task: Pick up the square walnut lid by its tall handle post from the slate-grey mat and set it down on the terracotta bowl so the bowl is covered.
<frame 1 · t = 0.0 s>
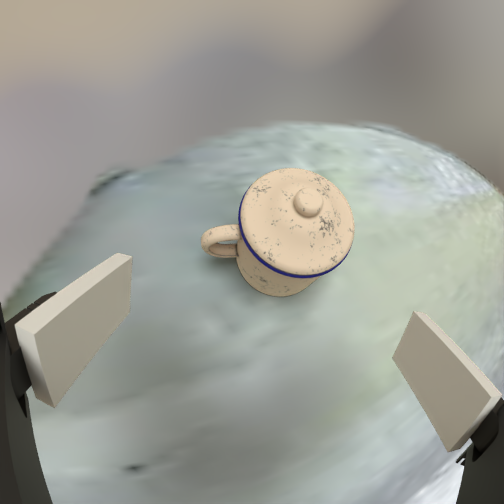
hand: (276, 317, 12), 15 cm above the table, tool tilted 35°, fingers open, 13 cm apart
teacup with lid: (263, 257, 29), on the table
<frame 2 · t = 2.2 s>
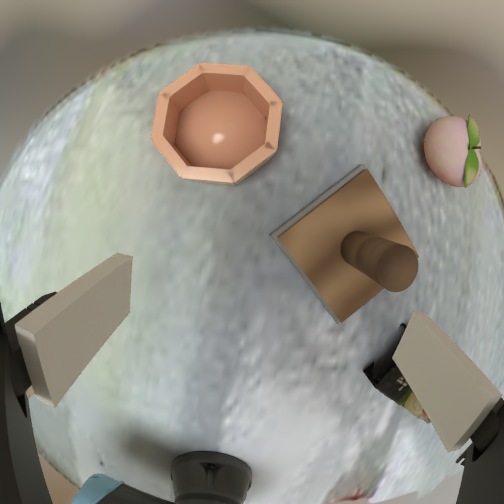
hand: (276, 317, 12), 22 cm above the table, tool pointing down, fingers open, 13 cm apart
decorative fruit: (430, 154, 32), on the table
lid: (352, 246, 32), point 1 cm above the table, touching mat
bowl: (220, 131, 31), on the table
mat: (348, 244, 34), on the table
juice carton: (411, 370, 39), on the table
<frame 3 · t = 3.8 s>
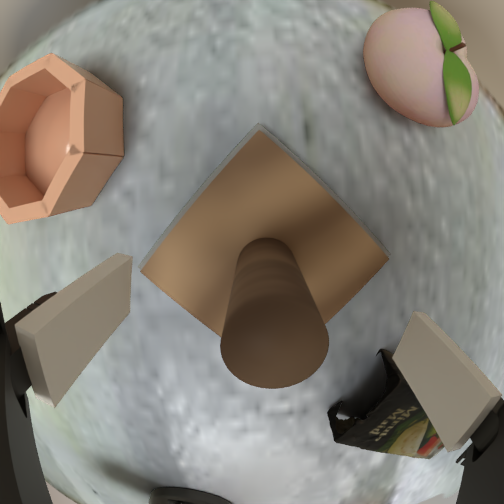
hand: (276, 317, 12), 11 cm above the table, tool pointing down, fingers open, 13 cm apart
decorative fruit: (390, 83, 19), on the table
lid: (265, 261, 21), point 1 cm above the table, touching mat
bowl: (65, 141, 20), on the table
mat: (265, 255, 22), on the table
juice carton: (403, 400, 27), on the table
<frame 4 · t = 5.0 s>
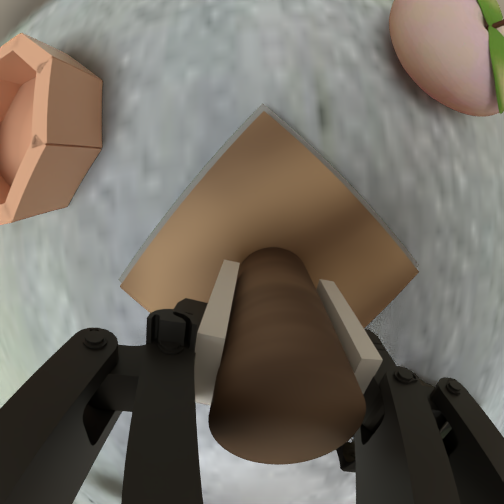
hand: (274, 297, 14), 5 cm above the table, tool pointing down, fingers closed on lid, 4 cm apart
decorative fruit: (415, 65, 14), on the table
lid: (271, 274, 17), point 1 cm above the table, touching gripper, mat
bowl: (39, 134, 16), on the table
mat: (270, 266, 18), on the table
juice carton: (415, 419, 24), on the table
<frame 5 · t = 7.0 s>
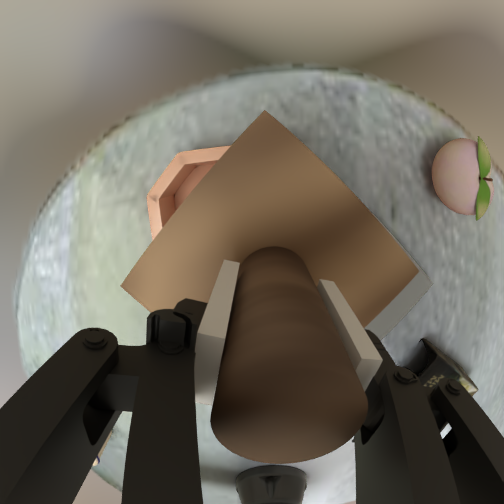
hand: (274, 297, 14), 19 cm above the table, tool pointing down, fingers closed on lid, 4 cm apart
decorative fruit: (439, 175, 30), on the table
lid: (272, 274, 17), point 16 cm above the table, touching gripper
bowl: (220, 207, 32), on the table
mat: (365, 288, 34), on the table
juice carton: (429, 376, 39), on the table
when the fingers open (11 cm above the table, at t = 9.0 s): lid drops 2 cm, resting on bowl.
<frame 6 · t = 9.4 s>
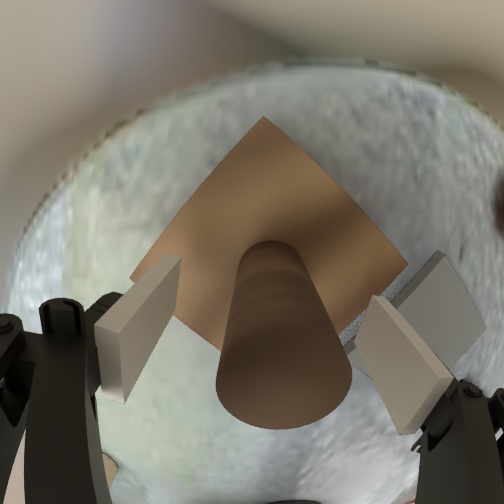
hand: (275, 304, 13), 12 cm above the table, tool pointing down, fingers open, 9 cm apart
teacup with lid: (97, 459, 36), on the table
lid: (270, 266, 18), point 6 cm above the table, touching bowl
mat: (421, 336, 27), on the table
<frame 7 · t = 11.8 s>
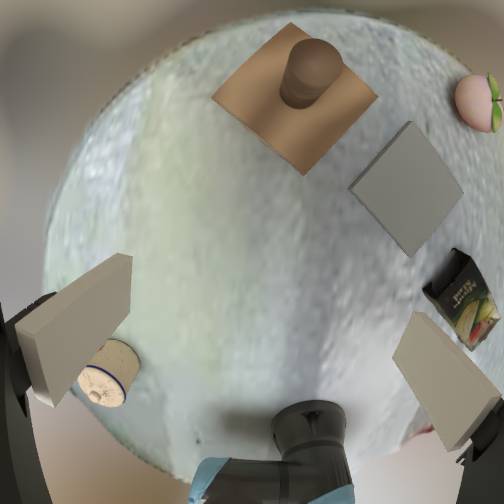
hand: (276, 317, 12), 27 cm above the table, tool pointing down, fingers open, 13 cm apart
decorative fruit: (459, 106, 31), on the table
teacup with lid: (118, 362, 46), on the table
lid: (297, 94, 27), point 6 cm above the table, touching bowl
mat: (410, 189, 36), on the table
juice carton: (457, 297, 41), on the table
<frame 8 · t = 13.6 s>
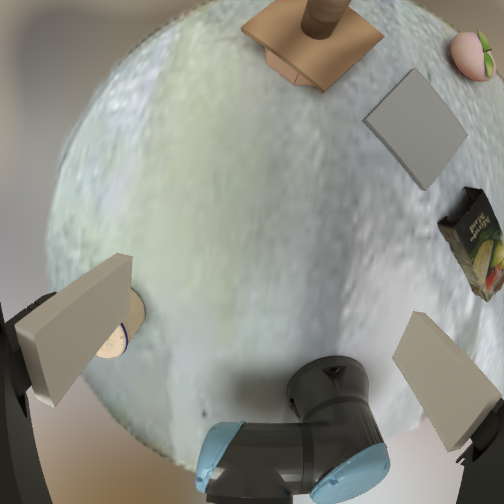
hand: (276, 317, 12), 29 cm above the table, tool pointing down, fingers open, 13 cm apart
decorative fruit: (456, 63, 31), on the table
teacup with lid: (121, 313, 45), on the table
lid: (315, 31, 27), point 6 cm above the table, touching bowl
bowl: (307, 48, 33), on the table
mat: (418, 127, 35), on the table
juice carton: (470, 243, 40), on the table
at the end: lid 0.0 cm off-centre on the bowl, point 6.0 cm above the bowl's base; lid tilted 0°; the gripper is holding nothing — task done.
